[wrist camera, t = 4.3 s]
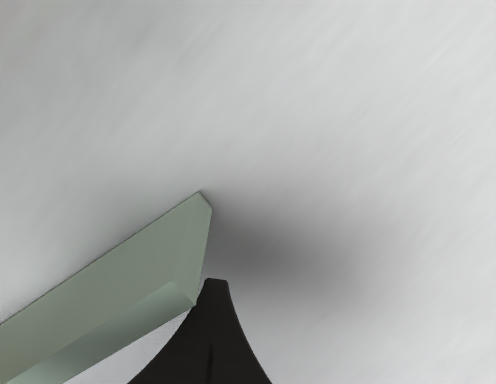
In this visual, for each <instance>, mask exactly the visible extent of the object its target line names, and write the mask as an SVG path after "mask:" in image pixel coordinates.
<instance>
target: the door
mask: <svg viewBox="0 0 496 384" xmlns="http://www.w3.org/2000/svg"><path fill="white" fill-rule="evenodd" d="M212 210H213V209H212V208H211V207H210V205H209V204H208V203H207V202H206V200H205V199H204V198H203V197H202V196H201V194H200V193H199V192H197V193H196V194H194V195H193V196H191V197H190V198H188V199H187V200H185V201H184V202H182V203H181V204H179V205H178V206H176V207H175V208H173V209H172V210H170V211H169V212H167V213H166V214H165V215H163V216H162V217H160V218H159V219H157V220H156V221H154V222H153V223H151V224H150V225H148V226H147V227H145V228H144V229H142V230H141V231H139V232H138V233H136V234H135V235H133V236H132V237H130V238H129V239H127V240H126V241H124V242H123V243H121V244H120V245H118V246H117V247H115V248H114V249H112V250H111V251H109V252H108V253H107V254H105V255H104V256H102V257H101V258H99V259H98V260H96V261H95V262H93V263H92V264H90V265H89V266H87V267H86V268H84V269H83V270H81V271H80V272H78V273H77V274H75V275H74V276H72V277H71V278H69V279H68V280H66V281H65V282H63V283H62V284H60V285H59V286H57V287H56V288H54V289H53V290H51V291H50V292H48V293H47V294H46V295H44V296H43V297H41V298H40V299H38V300H37V301H35V302H34V303H32V304H31V305H29V306H28V307H26V308H25V309H23V310H22V311H20V312H19V313H17V314H16V315H14V316H13V317H11V318H10V319H8V320H7V321H5V322H4V323H2V324H1V325H0V384H62V383H64V382H66V381H67V380H69V379H71V378H73V377H74V376H76V375H78V374H79V373H81V372H83V371H85V370H86V369H88V368H90V367H91V366H93V365H95V364H96V363H98V362H100V361H102V360H103V359H105V358H107V357H108V356H110V355H112V354H114V353H115V352H117V351H119V350H120V349H122V348H124V347H125V346H127V345H129V344H131V343H132V342H134V341H136V340H137V339H139V338H141V337H143V336H144V335H146V334H148V333H149V332H151V331H153V330H154V329H156V328H158V327H160V326H161V325H163V324H165V323H166V322H168V321H170V320H172V319H173V318H175V317H177V316H178V315H180V314H182V313H183V312H185V311H187V310H189V309H190V308H192V307H194V306H195V305H196V301H197V295H198V290H199V284H200V278H201V273H202V267H203V261H204V255H205V250H206V244H207V238H208V233H209V227H210V221H211V216H212Z"/></svg>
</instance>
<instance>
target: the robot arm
mask: <svg viewBox="0 0 496 384" xmlns="http://www.w3.org/2000/svg"><path fill="white" fill-rule="evenodd" d="M127 384H272V383H271V381H270V380H269V378H268V377H267V375H266V374H265V372H264V370H263V369H262V367H261V365H260V364H259V362H258V360H257V358H256V357H255V355H254V353H253V351H252V349H251V347H250V345H249V343H248V341H247V339H246V337H245V335H244V332H243V330H242V328H241V325H240V323H239V320H238V318H237V315H236V312H235V309H234V306H233V303H232V300H231V296H230V292H229V286H228V282H227V281H226V280H220V279H212V278H207V279H206V280H205V281H204V285H203V287H202V290H201V292H200V294H199V296H198V298H197V301H196V305H195V306H194V307H192V309H191V310H190V312H189V314H188V315H187V317H186V318H185V320H184V321H183V322H182V324H181V325H180V327H179V328H178V329H177V331H176V332H175V334H174V335H173V336H172V337H171V339H170V340H169V341H168V342H167V344H166V345H165V346H164V347H163V348H162V349H161V351H160V352H159V353H158V354H157V355H156V356H155V357H154V358H153V359H152V360H151V361H150V362H149V364H148V365H147V366H146V367H145V368H144V369H143V370H142V371H141V372H140V373H138V374H137V375H136V376H135V377H134V378H133V379H132V380H131V381H130V382H129V383H127Z"/></svg>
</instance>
